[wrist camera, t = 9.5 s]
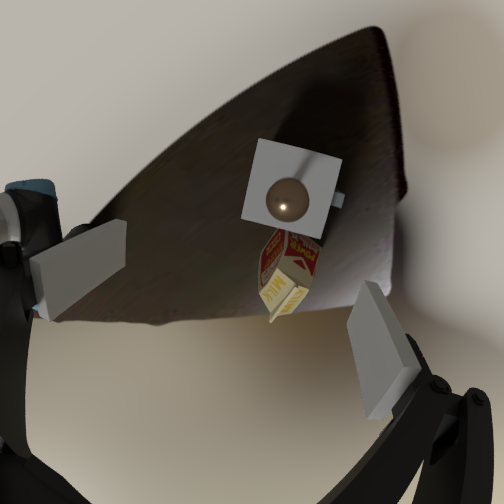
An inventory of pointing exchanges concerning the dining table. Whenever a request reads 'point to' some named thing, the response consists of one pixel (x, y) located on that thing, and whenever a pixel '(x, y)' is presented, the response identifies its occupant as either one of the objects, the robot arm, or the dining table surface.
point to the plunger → (287, 199)
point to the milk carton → (286, 271)
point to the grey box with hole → (298, 166)
